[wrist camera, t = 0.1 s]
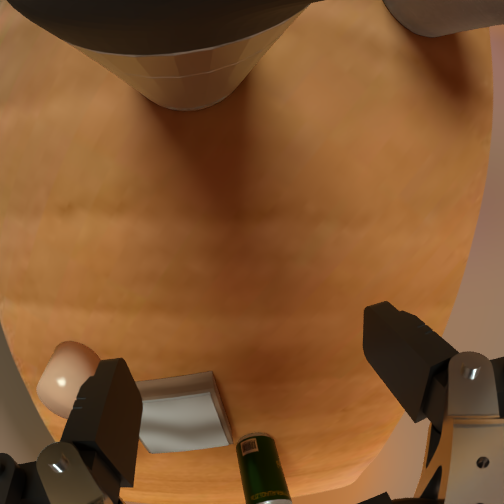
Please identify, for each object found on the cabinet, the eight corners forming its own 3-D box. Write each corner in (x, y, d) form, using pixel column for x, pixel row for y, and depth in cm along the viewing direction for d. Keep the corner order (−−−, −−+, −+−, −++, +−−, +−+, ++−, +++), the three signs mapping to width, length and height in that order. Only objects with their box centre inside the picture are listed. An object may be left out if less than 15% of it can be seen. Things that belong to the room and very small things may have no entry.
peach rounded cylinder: (45, 343, 27) (26, 379, 21) (90, 338, 28) (74, 377, 22) (68, 383, 29) (55, 420, 24) (111, 380, 30) (102, 420, 24)
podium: (117, 383, 30) (113, 402, 27) (211, 371, 31) (214, 390, 28) (150, 438, 34) (149, 455, 31) (230, 428, 35) (233, 446, 33)
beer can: (227, 442, 37) (239, 517, 25) (259, 426, 36) (278, 503, 25) (250, 455, 39) (265, 522, 28) (280, 440, 38) (302, 509, 27)
